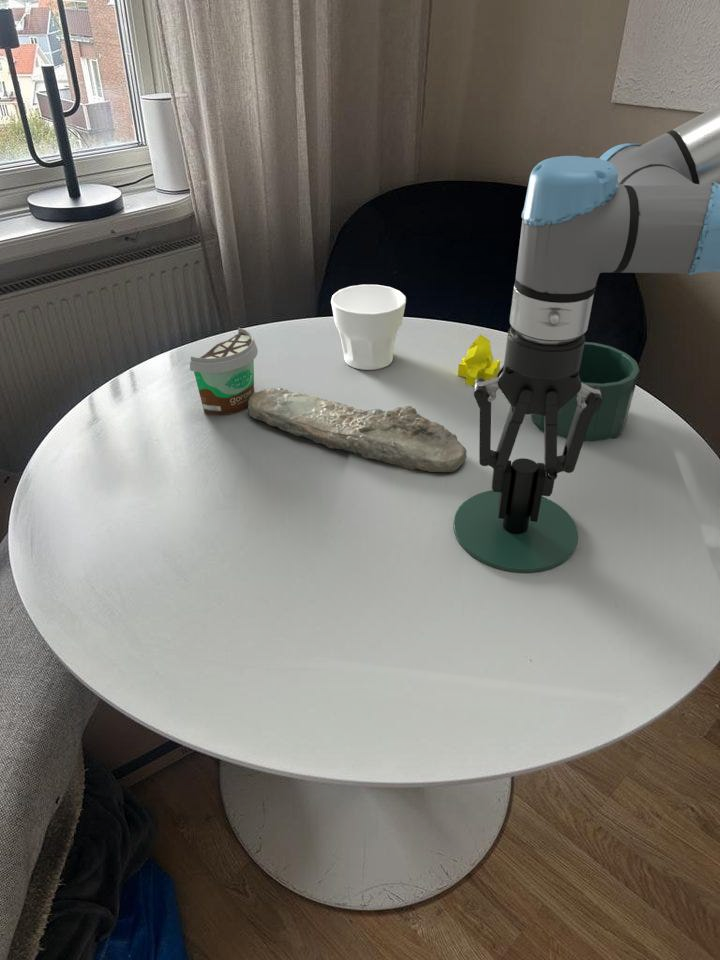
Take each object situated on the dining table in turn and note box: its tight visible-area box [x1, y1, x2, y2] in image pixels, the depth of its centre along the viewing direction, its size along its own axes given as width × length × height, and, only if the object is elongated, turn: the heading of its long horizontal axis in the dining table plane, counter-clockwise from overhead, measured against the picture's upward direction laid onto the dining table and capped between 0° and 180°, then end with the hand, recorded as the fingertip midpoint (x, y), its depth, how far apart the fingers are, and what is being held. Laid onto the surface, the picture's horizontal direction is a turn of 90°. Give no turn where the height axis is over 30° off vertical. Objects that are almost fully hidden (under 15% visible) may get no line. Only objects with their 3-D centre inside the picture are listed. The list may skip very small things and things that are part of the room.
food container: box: [189, 327, 259, 416], centre depth 108 cm, size 12×6×10 cm, turn 150°
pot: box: [530, 341, 640, 442], centre depth 104 cm, size 14×14×10 cm
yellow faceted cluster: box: [457, 333, 501, 387], centre depth 116 cm, size 6×8×8 cm
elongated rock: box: [247, 387, 468, 473], centre depth 102 cm, size 35×5×10 cm
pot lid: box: [453, 457, 579, 574], centre depth 83 cm, size 15×15×10 cm
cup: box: [330, 284, 407, 371], centre depth 119 cm, size 12×12×11 cm
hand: (517, 512), depth 84 cm, fingers closed on pot lid, 3 cm apart
